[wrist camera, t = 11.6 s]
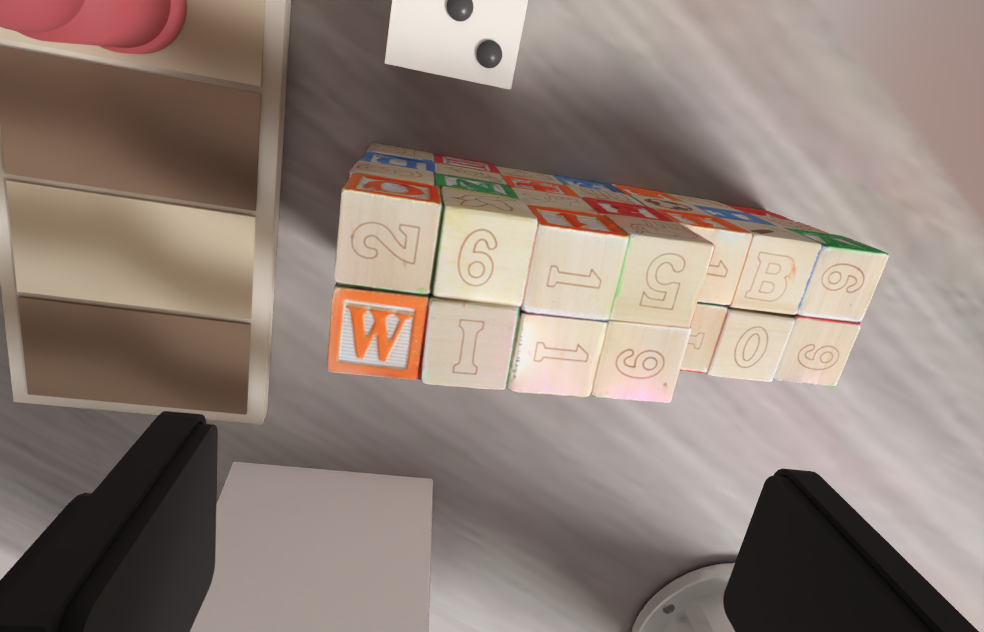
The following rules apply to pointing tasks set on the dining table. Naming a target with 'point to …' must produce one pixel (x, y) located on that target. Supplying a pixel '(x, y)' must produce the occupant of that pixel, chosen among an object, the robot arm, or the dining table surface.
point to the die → (457, 38)
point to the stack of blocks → (580, 283)
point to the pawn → (98, 22)
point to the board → (145, 215)
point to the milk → (319, 552)
